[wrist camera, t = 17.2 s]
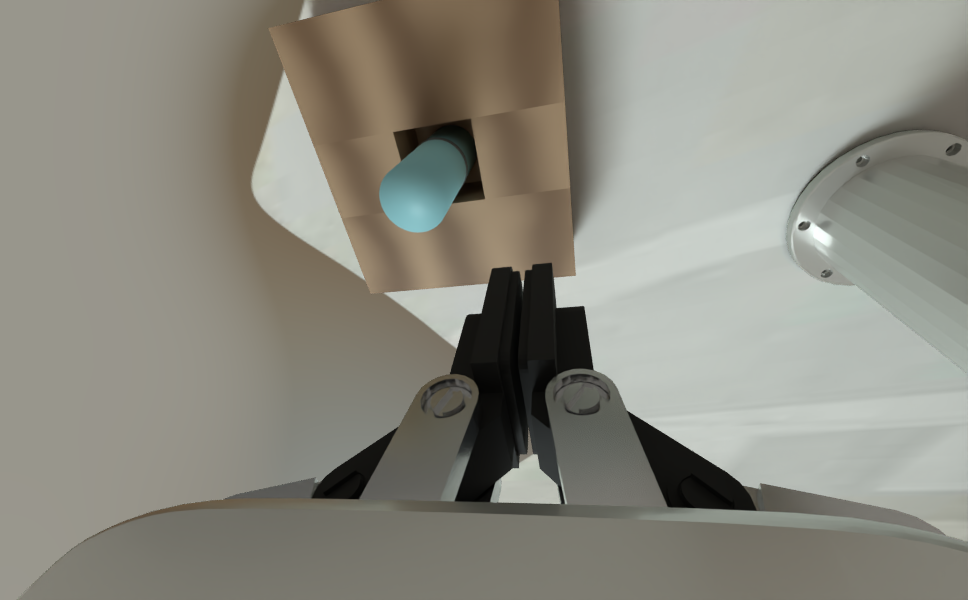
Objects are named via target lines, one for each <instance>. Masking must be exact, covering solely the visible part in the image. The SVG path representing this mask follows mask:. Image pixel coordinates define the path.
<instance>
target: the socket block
mask: <svg viewBox="0 0 968 600" xmlns="http://www.w3.org/2000/svg"><path fill="white" fill-rule="evenodd" d="M269 31H270V33H271V36H272V39H273V41H274V44H275V47H276V49H277V52H278V54H279V57H280V60H281V62H282V65H283V67H284V70H285V73H286V75H287V78H288V80H289V83H290V86H291V88H292V91H293V93H294V96H295V98H296V101H297V104H298V106H299V109H300V111H301V114H302V117H303V119H304V122H305V124H306V127H307V130H308V132H309V135H310V137H311V140H312V143H313V145H314V148H315V150H316V153H317V156H318V158H319V161H320V163H321V166H322V169H323V171H324V174H325V176H326V179H327V182H328V184H329V187H330V189H331V192H332V195H333V197H334V200H335V202H336V205H337V208H338V210H339V213H340V215H341V218H342V221H343V223H344V226H345V228H346V231H347V234H348V236H349V239H350V241H351V244H352V247H353V249H354V252H355V254H356V257H357V259H358V262H359V265H360V267H361V270H362V272H363V275H364V278H365V280H366V283H367V285H368V288H369V291H370V293H371V294H373V293H385V292H396V291H407V290H419V289H430V288H441V287H453V286H464V285H475V284H487V283H489V279H490V274H491V270H492V268H500V267H512V269H513V271H520V275H521V280H524V277H525V270H532V264H542V263H552V267H553V277H566V276H576V273H575V257H574V241H573V225H572V208H571V192H570V176H569V160H568V143H567V127H566V111H565V95H564V79H563V62H562V46H561V30H560V14H559V0H380V1H376V2H372V3H368V4H364V5H360V6H356V7H352V8H348V9H344V10H339V11H335V12H331V13H327V14H323V15H319V16H315V17H311V18H307V19H303V20H299V21H295V22H291V23H287V24H283V25H279V26H276V27H272V28H269ZM447 125H456V126H460V127H462V128H464V129H465V130H467V131H468V132H469V133H470V134H471V136H472V137H473V139H474V141H475V145H476V151H477V157H476V161H475V163H474V165H473V167H472V169H471V170H470V172H469V174H468V176H467V178H466V180H465V182H464V184H463V186H462V187H461V189H460V190H459V192H458V193H457V195H456V197H455V199H454V201H453V202H452V204H451V206H450V208H449V209H448V211H447V213H446V215H445V217H444V218H443V220H442V221H441V223H440V224H439V225H438V226H437V227H435V228H434V229H432V230H429V231H426V232H419V233H417V232H410V231H407V230H404V229H402V228H400V227H398V226H397V225H395V224H394V223H393V222H392V221H391V220H390V219H389V218H388V217H387V215H386V214H385V212H384V210H383V208H382V206H381V203H380V197H379V190H380V185H381V182H382V180H383V178H384V177H385V175H386V174H387V173H388V172H389V171H390V170H392V169H393V168H394V167H395V166H396V165H397V164H399V163H400V162H401V161H402V160H403V159H404V158H406V157H407V156H408V155H409V154H410V153H411V152H413V151H414V150H415V149H416V147H417V146H418V145H419V144H421V143H422V142H423V141H425V140H426V139H428V138H429V137H430V136H431V135H432V134H433V133H435V132H436V131H437V130H438V129H440V128H441V127H444V126H447Z"/></svg>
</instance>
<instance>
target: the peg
mask: <svg viewBox="0 0 968 600" xmlns="http://www.w3.org/2000/svg"><path fill="white" fill-rule="evenodd" d="M476 157H477V151H476V145H475V141H474V139H473V137H472V136H471V134H470V133H469V132H468V131H467V130H465V129H464V128H462V127H460V126H456V125H447V126H444V127H441V128H440V129H438V130H437V131H436V132H435V133H433V134H432V135H431V136H430V137H429V138H428V139H426V140H425V141H423V142H422V143H421V144H419V145H418V146H417V147H416V149H415V150H414V151H413V152H411V153H410V154H409V155H408V156H407V157H406V158H404V159H403V160H402V161H401V162H400V163H399V164H397V165H396V166H395V167H394V168H393V169H392V170H390V171H389V172H388V173H387V174H386V175H385V177H384V178H383V180H382V182H381V185H380V190H379V197H380V203H381V206H382V208H383V210H384V212H385V214H386V215H387V217H388V218H389V219H390V220H391V221H392V222H393V223H394V224H395V225H397V226H398V227H400V228H402V229H404V230H407V231H410V232H417V233H419V232H426V231H429V230H432V229H434V228H435V227H437V226H438V225H439V224H440V223H441V221H442V220H443V218H444V217H445V215H446V213H447V211H448V209H449V208H450V206H451V204H452V202H453V201H454V199H455V197H456V195H457V193H458V192H459V190H460V189H461V187H462V186H463V184H464V182H465V180H466V178H467V176H468V174H469V172H470V170H471V169H472V167H473V165H474V163H475V161H476Z"/></svg>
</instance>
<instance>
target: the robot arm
mask: <svg viewBox="0 0 968 600" xmlns="http://www.w3.org/2000/svg"><path fill="white" fill-rule="evenodd" d="M786 241H787V246H788V251H789V253H790V255H791V257H792V259H793V260H794V261H795V262H796V264H797V265H798V266H799V267H800V268H801V269H802V270H804V271H805V272H806V273H807V274H809V275H810V276H811V277H813V278H815V279H817V280H819V281H822V282H826V283H830V284H834V285H847V286H853V285H856V286H857V287H858V288H860V289H861V290H862V291H863V292H865V293H866V294H867V295H868V296H870V297H871V298H872V299H873V300H875V301H876V302H877V303H878V304H880V305H881V306H882V307H883V308H885V309H886V310H887V311H888V312H890V313H891V314H892V315H893V316H895V317H896V318H897V319H899V320H900V321H901V322H902V323H904V324H905V325H906V326H907V327H909V328H910V329H911V330H912V331H914V332H915V333H916V334H917V335H919V336H920V337H921V338H922V339H924V340H925V341H926V342H927V343H929V344H930V345H931V346H932V347H934V348H935V349H936V350H938V351H939V352H940V353H941V354H943V355H944V356H945V357H946V358H948V359H949V360H950V361H951V362H953V363H954V364H955V365H956V366H958V367H959V368H960V369H961V370H963V371H964V372H965V373H966V374H968V140H966V139H963V138H961V137H958V136H955V135H953V134H949V133H944V132H939V131H935V130H911V131H903V132H896V133H893V134H889V135H886V136H882V137H879V138H876V139H873V140H871V141H869V142H867V143H864V144H862V145H860V146H858V147H856V148H854V149H852V150H851V151H849V152H847V153H846V154H844V155H842V156H841V157H839V158H838V159H836V160H835V161H834V162H832V163H831V164H830V165H829V166H827V167H826V168H825V169H823V170H822V171H821V172H820V173H819V174H818V175H817V176H816V177H815V178H814V179H813V180H812V181H811V182H810V183H809V184H808V186H807V187H806V189H805V190H804V191H803V193H802V194H801V195H800V197H799V198H798V200H797V202H796V204H795V206H794V208H793V209H792V211H791V214H790V217H789V221H788V224H787V232H786ZM528 427H529V431H530V437H531V443H532V449H533V454H538V459H539V466H540V469H541V470H542V471H543V472H544V473H545V474H546V475H548V476H549V477H550V478H551V479H552V480H553V481H554V482H555V483H556V484H557V490H558V495H559V501H560V504H533V503H498V500H499V496H500V492H501V484H502V481H501V477H503V476H504V475H505V474H506V473H507V472H509V471H510V470H511V469H512V468H519V456H520V454H527V450H528ZM17 600H968V542H966V541H963V540H960V539H957V538H953V537H949V536H946V535H945V534H944V533H943V532H941V531H940V530H939V529H937V528H935V527H934V526H932V525H930V524H928V523H926V522H925V521H923V520H921V519H919V518H917V517H915V516H912V515H908V514H905V513H902V512H899V511H896V510H891V509H886V508H881V507H876V506H871V505H866V504H861V503H856V502H851V501H846V500H841V499H836V498H831V497H826V496H821V495H816V494H811V493H806V492H801V491H796V490H791V489H786V488H781V487H776V486H771V485H766V484H761V483H760V485H759V488H758V489H756V488H751V487H746V486H742V485H741V483H740V482H739V481H737V480H736V479H735V478H733V477H732V476H731V475H729V474H728V473H727V472H725V471H724V470H722V469H720V468H719V467H717V466H716V465H714V464H712V463H711V462H709V461H707V460H706V459H704V458H703V457H701V456H699V455H698V454H696V453H695V452H693V451H691V450H690V449H688V448H686V447H685V446H683V445H682V444H680V443H678V442H677V441H675V440H674V439H672V438H670V437H669V436H667V435H665V434H664V433H662V432H661V431H659V430H657V429H656V428H654V427H653V426H651V425H649V424H648V423H646V422H644V421H643V420H641V419H640V418H638V417H636V416H635V415H633V414H632V413H630V412H628V411H627V410H626V408H625V405H624V403H623V401H622V398H621V396H620V394H619V391H618V389H617V387H616V386H615V384H614V383H613V381H612V380H611V379H609V378H608V377H607V376H605V375H604V374H602V373H599V372H597V371H594V370H593V363H592V356H591V349H590V342H589V336H588V329H587V322H586V315H585V309H584V306H579V307H565V308H556V298H555V287H554V277H553V267H552V263H542V264H532V270H525V277H524V288H523V289H522V282H521V275H520V271H513V269H512V267H500V268H492V270H491V274H490V279H489V283H488V287H487V292H486V296H485V301H484V305H483V309H482V314H469V315H467V316H466V319H465V322H464V326H463V329H462V333H461V336H460V340H459V343H458V347H457V351H456V354H455V358H454V361H453V365H452V368H451V372H450V374H449V375H444V376H440V377H437V378H435V379H433V380H431V381H429V382H428V383H427V384H425V385H424V386H423V387H422V388H421V389H420V390H419V392H418V393H417V394H416V396H415V398H414V400H413V402H412V403H411V405H410V407H409V409H408V411H407V413H406V415H405V416H404V418H403V420H402V422H401V424H400V425H399V427H397V428H396V429H394V430H393V431H391V432H390V433H388V434H387V435H385V436H384V437H382V438H381V439H379V440H378V441H376V442H375V443H373V444H372V445H370V446H369V447H367V448H366V449H364V450H363V451H361V452H360V453H358V454H357V455H355V456H354V457H352V458H351V459H349V460H348V461H346V462H345V463H343V464H342V465H340V466H339V467H337V468H336V469H334V470H333V471H332V472H331V473H329V474H328V475H327V476H326V477H325V478H324V479H323V480H322V481H321V482H319V481H318V480H317V479H316V478H311V479H306V480H301V481H297V482H292V483H287V484H282V485H278V486H273V487H269V488H264V489H259V490H255V491H250V492H245V493H240V494H236V495H233V496H230V497H228V498H225V499H223V500H210V501H202V502H195V503H187V504H182V505H177V506H173V507H169V508H165V509H160V510H156V511H151V512H149V513H146V514H143V515H140V516H137V517H134V518H132V519H128V520H126V521H123V522H120V523H118V524H116V525H114V526H111V527H109V528H107V529H105V530H103V531H101V532H99V533H97V534H95V535H93V536H91V537H89V538H87V539H86V540H84V541H83V542H81V543H80V544H78V545H77V546H75V547H74V548H72V549H71V550H70V551H69V552H67V553H66V554H65V555H64V556H63V557H61V558H60V559H59V560H58V561H56V562H55V563H54V564H53V565H52V566H51V567H50V568H49V569H48V570H47V571H46V572H45V573H44V574H43V575H42V576H41V577H40V578H39V579H37V580H36V581H35V582H34V583H33V584H32V585H31V586H30V587H29V588H28V589H27V590H26V591H25V592H24V593H23V594H22V595H21V596H20V597H19V598H18V599H17Z"/></svg>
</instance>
